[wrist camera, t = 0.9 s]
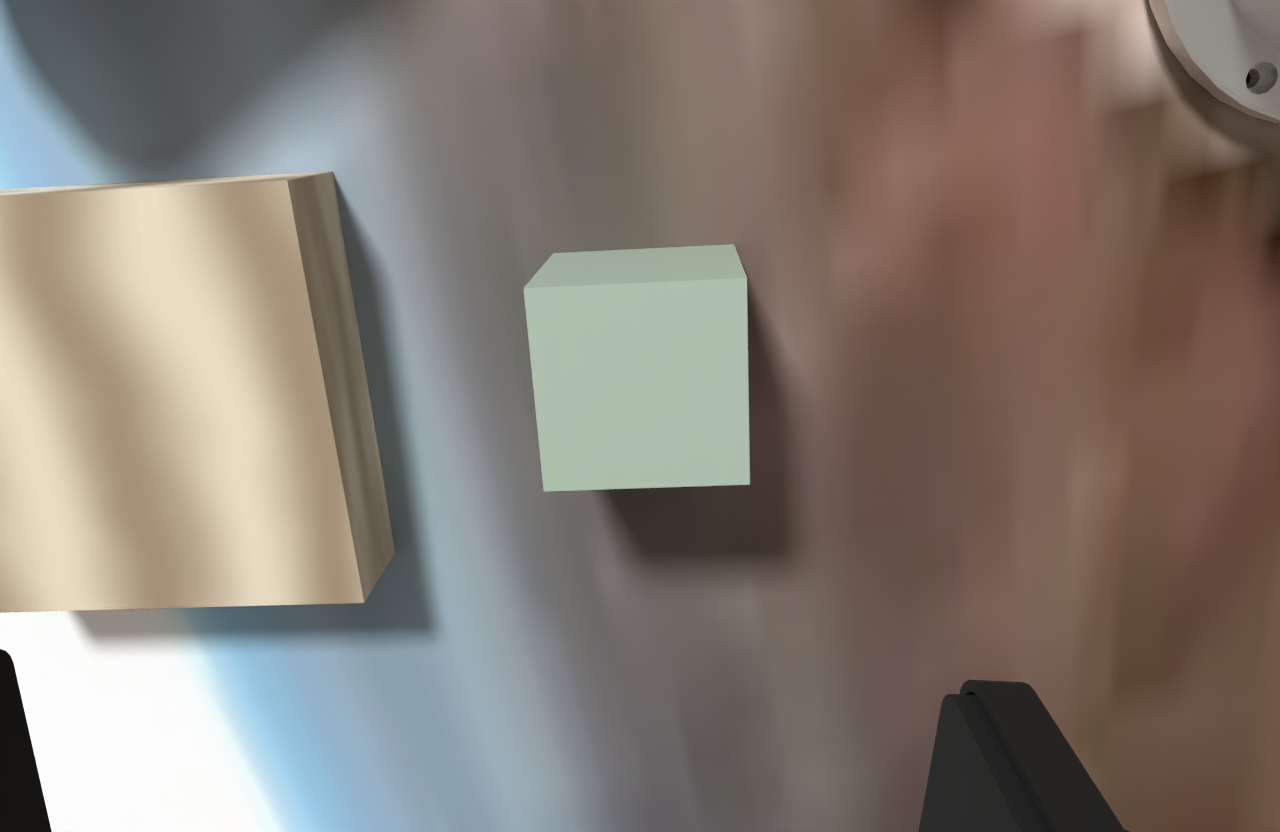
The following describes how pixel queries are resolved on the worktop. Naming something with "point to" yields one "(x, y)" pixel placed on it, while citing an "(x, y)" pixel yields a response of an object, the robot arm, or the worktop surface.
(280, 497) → the birch block
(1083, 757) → the worktop surface
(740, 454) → the sage cube
